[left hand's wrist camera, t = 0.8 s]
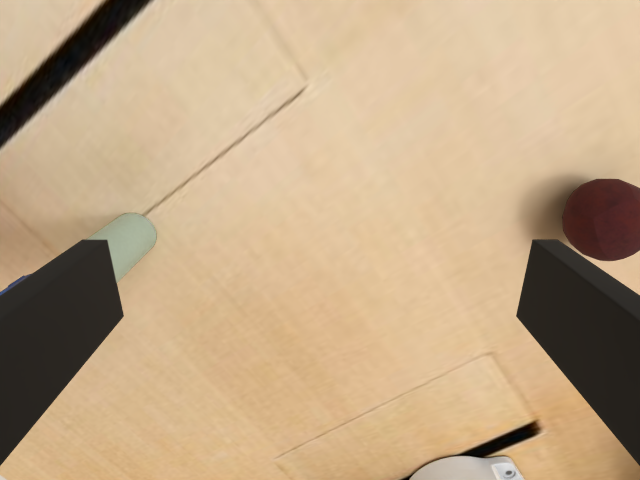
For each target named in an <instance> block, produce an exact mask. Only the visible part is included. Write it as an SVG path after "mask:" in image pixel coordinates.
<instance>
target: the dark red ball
mask: <svg viewBox="0 0 640 480" xmlns="http://www.w3.org/2000/svg"><path fill="white" fill-rule="evenodd" d="M562 219H563V231H564V233H565V235H566V237H567V238H568V240H569V242H570V243H571V244H572V245H573V246H574V247H575V248H576V249H577V250H579V251H580V252H581V253H582V254H584V255H586V256H589V257H592V258H594V259H597V260H601V261H615V260H620V259H624V258H627V257H629V256H631V255H633V254H635V253H636V252H638V251H639V250H640V188H638V187H636V186H634V185H632V184H629V183H627V182H624V181H622V180H619V179H596V180H593V181H590V182H587V183H584V184H582V185H581V186H580V187H579V188H577V189H576V190H575V191H574V192H573V193H572V194H571V196H570V197H569V199H568V200H567V203H566V207H565V210H564V213H563V217H562Z"/></svg>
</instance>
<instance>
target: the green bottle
mask: <svg viewBox="0 0 640 480" xmlns="http://www.w3.org/2000/svg"><path fill="white" fill-rule="evenodd" d="M86 240H108V245H109V250H110V254H111V259H112V264H113V268H114V273H115V278H116V282H117V283H118V282H119V281H120V280H121V279H122V278H123V277H124V276H125V275H126V274H127V273H128V272H129V271H130V269H131V268H132V267H133V266H134V265H135V264H136V263H137V262H138V261H139V260H140V259H141V258H142V257H143V256H144V255H145V254H146V253H147V252H148V251H149V250H150V249H151V248H152V247H153V246H154V244H155V242H156V230H155V228H154V226H153V224H152V223H151V222H150V221H149V220H148V219H147V218H146V217H144V216H142V215H140V214H136V213H126V214H123V215H121V216H119V217H118V218H116V219H115V220H113V221H112V222H111V223H109V224H108V225H106V226H105V227H103V228H102V229H100V230H99V231H98V232H96V233H95V234H93V235H92V236H90V237H89V238H87V239H86Z"/></svg>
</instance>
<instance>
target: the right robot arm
mask: <svg viewBox="0 0 640 480" xmlns="http://www.w3.org/2000/svg"><path fill="white" fill-rule="evenodd" d="M409 480H525V479H524V477H523V476H522V474H521V473H520V471H519V470H518V468H517V467H516V465H515V464H514V462H513V461H512V459H511V458H509V457H506V456H500V457H492V458H477V457H471V456H454V457H448V458H443V459H440V460H437V461H434V462H432V463H429V464H427V465H426V466H424V467H422V468H421V469H419V470H418V471H417V472H416V473H415V474H414V475H413V476H412V477H411V478H410V479H409Z"/></svg>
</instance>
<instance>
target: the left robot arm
mask: <svg viewBox="0 0 640 480" xmlns="http://www.w3.org/2000/svg"><path fill="white" fill-rule="evenodd" d="M123 316H124V315H123V310H122V306H121V301H120V296H119V292H118V287H117V282H116V278H115V273H114V268H113V264H112V259H111V254H110V250H109V245H108V240H81V241H80V242H78V243H77V244H75V245H74V246H72V247H71V248H69V249H68V250H67V251H65V252H64V253H62V254H61V255H59V256H58V257H56V258H55V259H53V260H52V261H50V262H49V263H47V264H46V265H44V266H43V267H41V268H40V269H39V270H37V271H36V272H34V273H33V274H31V275H30V276H28V277H27V278H25V279H24V280H22V281H21V282H19V283H18V284H16V285H15V286H14V287H12V288H11V289H9V290H8V291H6V292H5V293H3V294H2V295H0V465H1V464H2V463H3V462H4V461H5V459H6V458H7V457H8V456H9V455H10V453H11V452H12V451H13V450H14V448H15V447H16V446H17V445H18V444H19V442H20V441H21V440H22V439H23V438H24V436H25V435H26V434H27V433H28V432H29V430H30V429H31V428H32V427H33V425H34V424H35V423H36V422H37V421H38V419H39V418H40V417H41V416H42V415H43V413H44V412H45V411H46V410H47V408H48V407H49V406H50V405H51V404H52V402H53V401H54V400H55V399H56V398H57V396H58V395H59V394H60V393H61V392H62V390H63V389H64V388H65V387H66V385H67V384H68V383H69V382H70V381H71V379H72V378H73V377H74V376H75V375H76V373H77V372H78V371H79V370H80V369H81V367H82V366H83V365H84V364H85V362H86V361H87V360H88V359H89V358H90V356H91V355H92V354H93V353H94V352H95V350H96V349H97V348H98V347H99V345H100V344H101V343H102V342H103V341H104V339H105V338H106V337H107V336H108V335H109V333H110V332H111V331H112V330H113V329H114V327H115V326H116V325H117V324H118V322H119V321H120V320H121V319H122V318H123ZM516 316H517V318H518V319H519V320H520V321H521V322H522V324H523V325H524V326H525V327H526V329H527V330H528V331H529V332H530V333H531V335H532V336H533V337H534V338H535V339H536V341H537V342H538V343H539V344H540V345H541V347H542V348H543V349H544V350H545V352H546V353H547V354H548V355H549V356H550V358H551V359H552V360H553V361H554V362H555V364H556V365H557V366H558V367H559V369H560V370H561V371H562V372H563V373H564V375H565V376H566V377H567V378H568V379H569V381H570V382H571V383H572V384H573V385H574V387H575V388H576V389H577V390H578V392H579V393H580V394H581V395H582V396H583V398H584V399H585V400H586V401H587V402H588V404H589V405H590V406H591V407H592V408H593V410H594V411H595V412H596V413H597V415H598V416H599V417H600V418H601V419H602V421H603V422H604V423H605V424H606V425H607V427H608V428H609V429H610V430H611V432H612V433H613V434H614V435H615V436H616V438H617V439H618V440H619V441H620V442H621V444H622V445H623V446H624V447H625V448H626V450H627V451H628V452H629V453H630V455H631V456H632V457H633V458H634V459H635V461H636V462H637V463H638V464H639V465H640V295H638V294H637V293H635V292H634V291H632V290H631V289H629V288H628V287H626V286H625V285H624V284H622V283H621V282H619V281H618V280H616V279H615V278H613V277H612V276H610V275H609V274H607V273H606V272H604V271H603V270H601V269H600V268H598V267H597V266H596V265H594V264H593V263H591V262H590V261H588V260H587V259H585V258H584V257H582V256H581V255H579V254H578V253H576V252H575V251H573V250H572V249H571V248H569V247H568V246H566V245H565V244H563V243H562V242H560V241H559V240H532V245H531V250H530V254H529V259H528V264H527V268H526V273H525V278H524V282H523V287H522V292H521V296H520V301H519V306H518V310H517V315H516Z"/></svg>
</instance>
